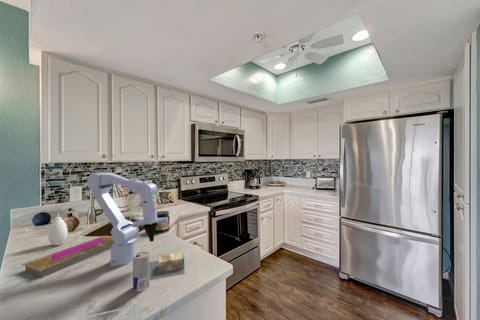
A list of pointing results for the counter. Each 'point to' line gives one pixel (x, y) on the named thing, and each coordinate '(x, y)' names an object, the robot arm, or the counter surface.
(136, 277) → the energy drink
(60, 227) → the white egg candle
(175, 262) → the oak block
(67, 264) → the brown long flat block
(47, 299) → the counter surface
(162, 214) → the supplement container
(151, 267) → the rubber mat
